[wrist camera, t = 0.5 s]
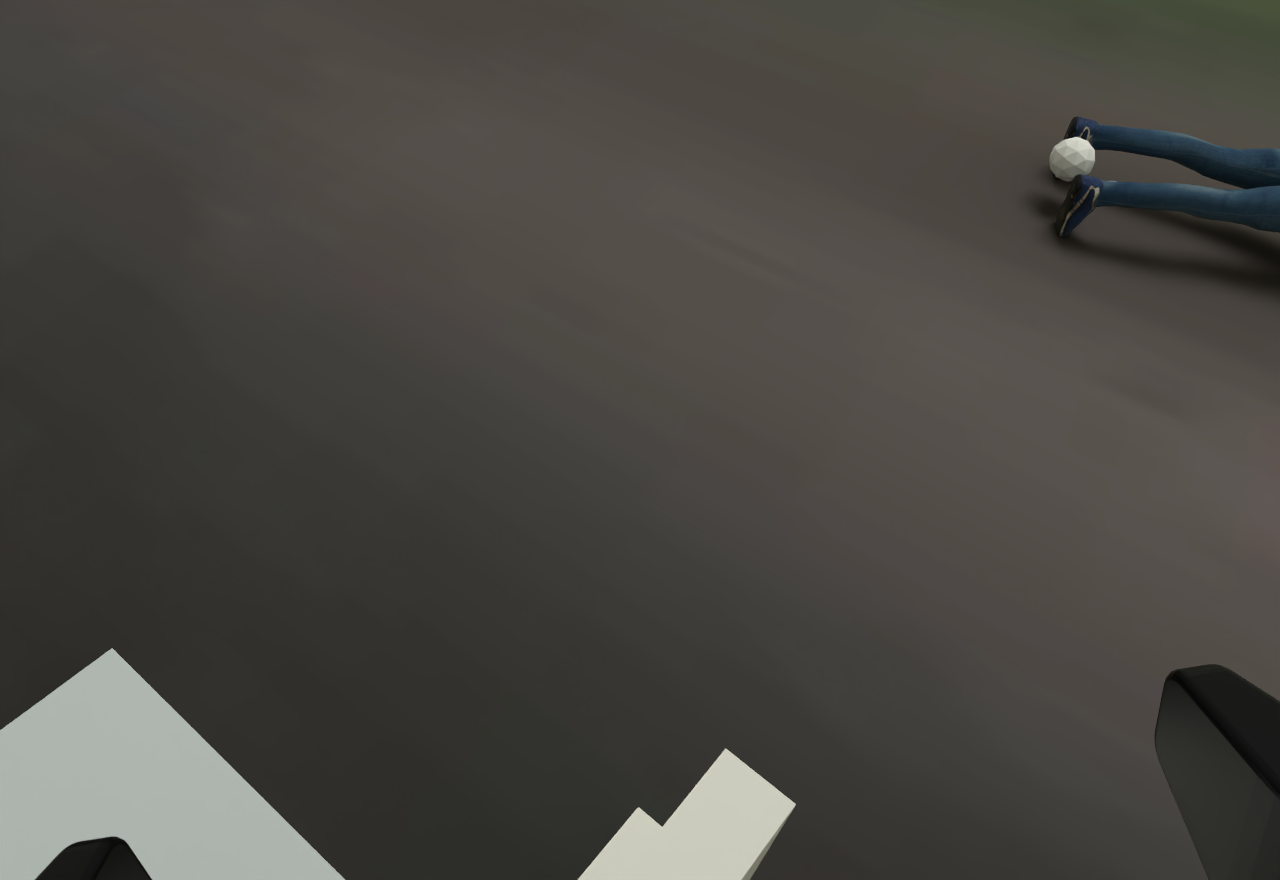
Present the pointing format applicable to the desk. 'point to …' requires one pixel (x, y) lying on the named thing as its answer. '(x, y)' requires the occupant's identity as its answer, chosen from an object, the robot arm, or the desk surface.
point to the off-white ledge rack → (700, 831)
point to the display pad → (135, 788)
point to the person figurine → (1268, 177)
